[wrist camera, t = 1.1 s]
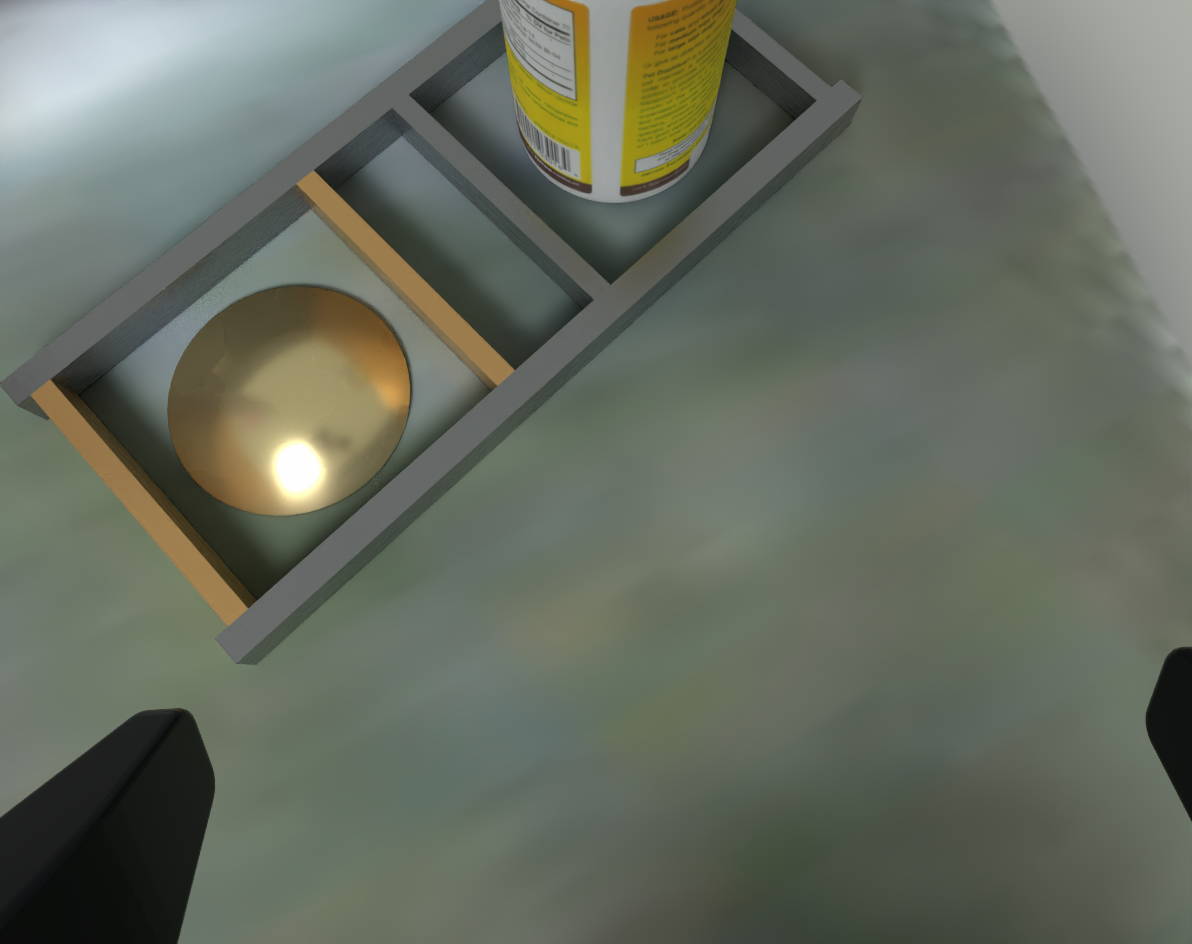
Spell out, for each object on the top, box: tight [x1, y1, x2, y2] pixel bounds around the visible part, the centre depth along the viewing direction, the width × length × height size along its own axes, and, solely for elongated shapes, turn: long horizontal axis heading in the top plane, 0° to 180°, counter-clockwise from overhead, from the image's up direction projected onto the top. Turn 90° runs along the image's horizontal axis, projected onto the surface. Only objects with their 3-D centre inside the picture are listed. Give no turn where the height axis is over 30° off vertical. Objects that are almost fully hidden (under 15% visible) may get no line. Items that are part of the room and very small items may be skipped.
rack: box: [0, 0, 862, 665], centre depth 23 cm, size 22×10×1 cm, turn 134°
